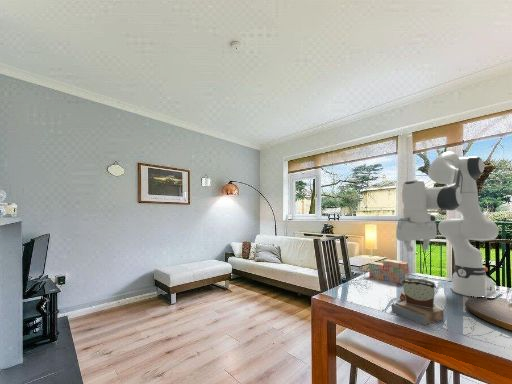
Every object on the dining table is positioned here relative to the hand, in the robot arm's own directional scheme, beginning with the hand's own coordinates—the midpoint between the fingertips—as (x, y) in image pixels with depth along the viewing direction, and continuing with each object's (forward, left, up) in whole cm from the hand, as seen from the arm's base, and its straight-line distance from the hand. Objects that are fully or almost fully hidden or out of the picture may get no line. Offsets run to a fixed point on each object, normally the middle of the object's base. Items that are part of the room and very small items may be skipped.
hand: (417, 250), depth 102 cm
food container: (-2, -2, -23) cm, 23 cm away
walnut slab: (+1, 0, -27) cm, 27 cm away
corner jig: (+1, -1, -26) cm, 26 cm away
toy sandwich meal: (-10, -9, -27) cm, 30 cm away
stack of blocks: (-33, -43, -27) cm, 60 cm away
